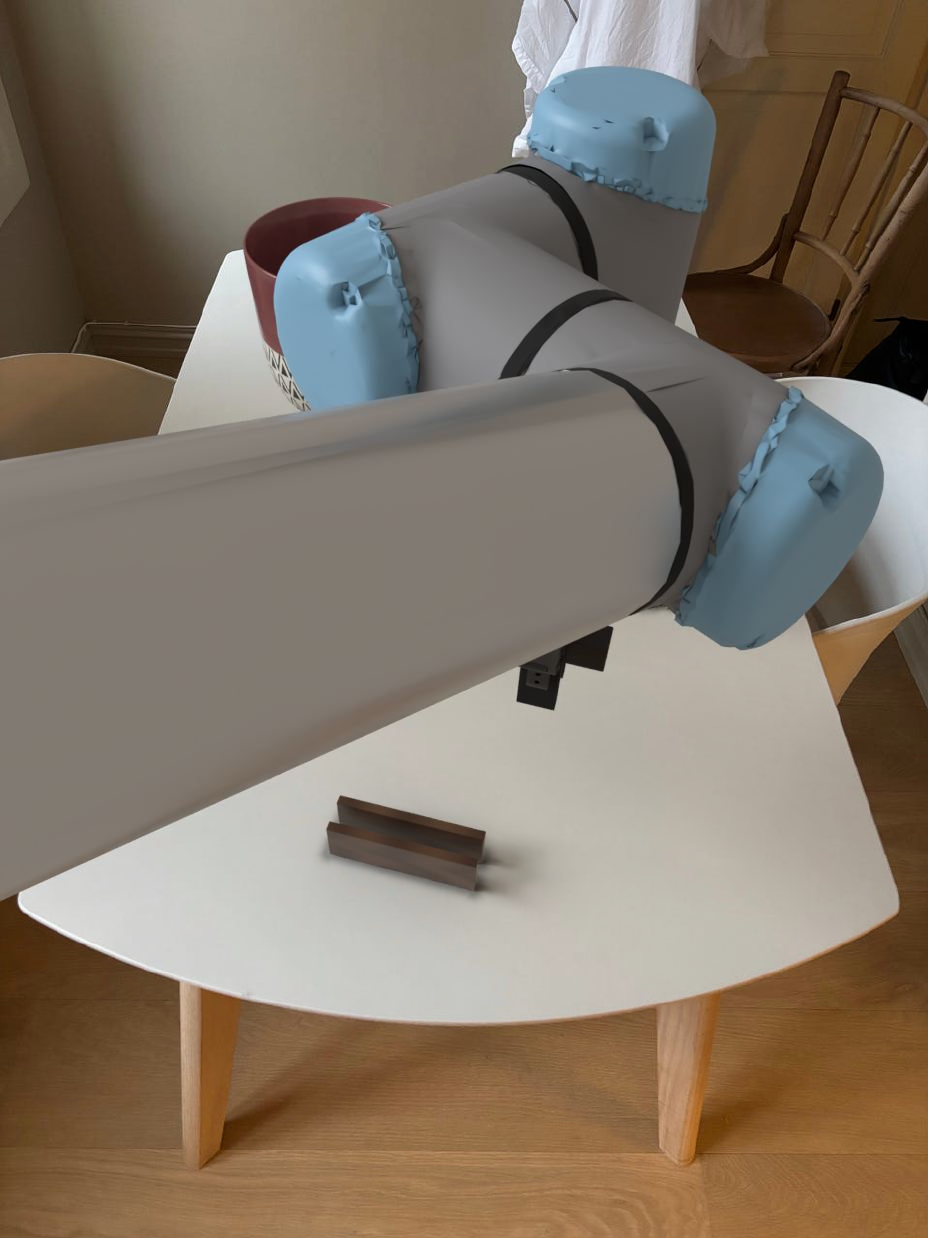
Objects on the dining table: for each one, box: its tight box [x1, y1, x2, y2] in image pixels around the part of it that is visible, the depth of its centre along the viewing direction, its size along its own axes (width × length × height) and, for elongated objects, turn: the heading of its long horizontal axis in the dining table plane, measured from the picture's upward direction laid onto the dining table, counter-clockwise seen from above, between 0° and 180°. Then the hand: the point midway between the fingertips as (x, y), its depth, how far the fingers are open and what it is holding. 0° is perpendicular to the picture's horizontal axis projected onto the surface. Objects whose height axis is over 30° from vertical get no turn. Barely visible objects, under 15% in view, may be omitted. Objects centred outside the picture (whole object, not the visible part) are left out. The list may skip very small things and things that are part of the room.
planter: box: [242, 196, 394, 412], centre depth 106 cm, size 20×20×21 cm
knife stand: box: [325, 795, 487, 892], centre depth 74 cm, size 12×3×4 cm, turn 75°
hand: (540, 685), depth 66 cm, fingers closed on cake knife, 2 cm apart
